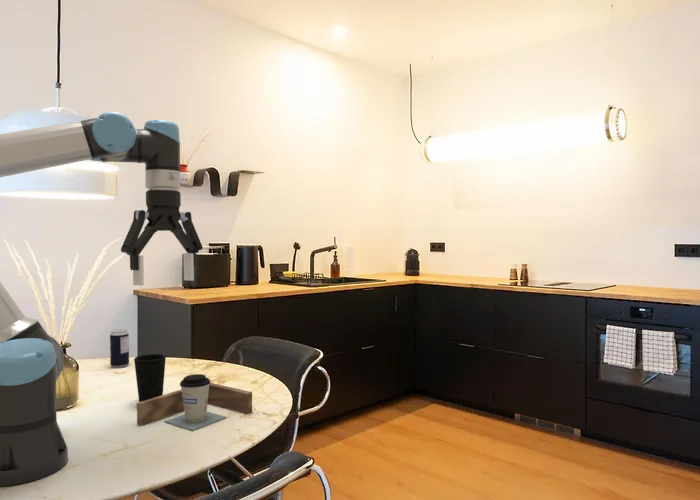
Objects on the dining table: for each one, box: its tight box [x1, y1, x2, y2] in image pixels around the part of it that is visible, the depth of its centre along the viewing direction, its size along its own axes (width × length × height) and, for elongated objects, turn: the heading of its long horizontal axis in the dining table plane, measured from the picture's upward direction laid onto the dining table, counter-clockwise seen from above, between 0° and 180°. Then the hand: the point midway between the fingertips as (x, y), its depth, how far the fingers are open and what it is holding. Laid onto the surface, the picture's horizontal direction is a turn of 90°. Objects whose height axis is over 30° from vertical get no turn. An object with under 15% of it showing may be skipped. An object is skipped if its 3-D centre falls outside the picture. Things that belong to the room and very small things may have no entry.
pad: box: [164, 411, 228, 432], centre depth 125 cm, size 10×10×1 cm
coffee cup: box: [179, 373, 211, 422], centre depth 125 cm, size 7×7×10 cm
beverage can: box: [109, 328, 130, 369], centre depth 176 cm, size 6×6×12 cm
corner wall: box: [136, 382, 253, 427], centre depth 126 cm, size 20×16×5 cm
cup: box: [133, 353, 166, 402], centre depth 137 cm, size 8×8×12 cm
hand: (164, 282), depth 122 cm, fingers open, 13 cm apart
